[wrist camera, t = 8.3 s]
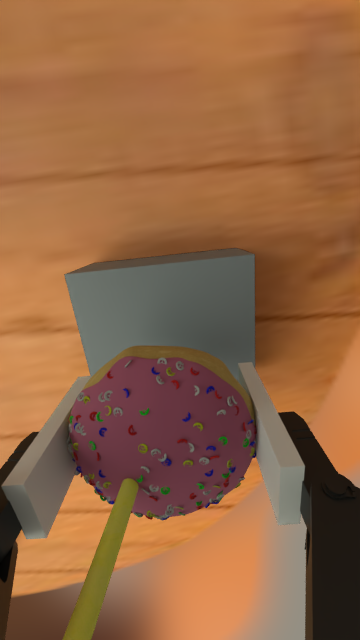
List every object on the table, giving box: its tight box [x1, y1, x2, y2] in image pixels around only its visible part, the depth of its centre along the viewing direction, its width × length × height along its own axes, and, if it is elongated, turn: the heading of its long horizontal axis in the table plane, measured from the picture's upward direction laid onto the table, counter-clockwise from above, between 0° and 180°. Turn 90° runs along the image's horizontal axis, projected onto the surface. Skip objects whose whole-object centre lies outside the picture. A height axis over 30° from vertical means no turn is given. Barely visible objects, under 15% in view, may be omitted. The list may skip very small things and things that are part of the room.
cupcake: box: [63, 345, 258, 640], centre depth 10 cm, size 9×8×12 cm
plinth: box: [64, 248, 255, 382], centre depth 22 cm, size 13×13×6 cm
